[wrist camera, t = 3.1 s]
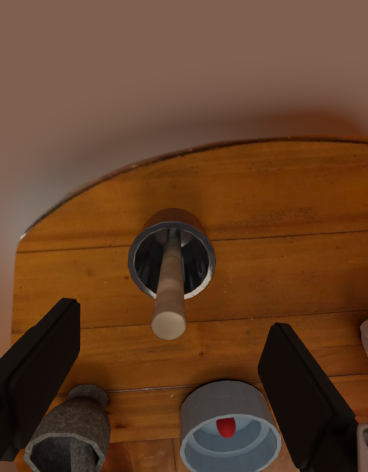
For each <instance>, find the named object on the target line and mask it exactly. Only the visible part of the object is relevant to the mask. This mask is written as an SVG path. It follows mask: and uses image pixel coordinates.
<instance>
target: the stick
mask: <svg viewBox="0 0 368 472" xmlns="http://www.w3.org/2000/svg"><path fill="white" fill-rule="evenodd" d="M151 328H152V331H153V333H154V334H155V335H156V336H157V337H159V338H161V339H165V340H172V339H175V338H178V337H179V336H181V335H182V334H183V332H184V330H185V328H186V318H185V301H184V284H183V267H182V249H181V238H180V237H179V236H178V235H177V234H170V235H168V236H167V238H166V241H165V247H164V253H163V259H162V264H161V270H160V276H159V281H158V287H157V293H156V299H155V304H154V310H153V316H152V321H151Z"/></svg>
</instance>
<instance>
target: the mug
mask: <svg viewBox="0 0 368 472" xmlns="http://www.w3.org/2000/svg"><path fill="white" fill-rule="evenodd" d="M360 330H361V332H362V334H361V339H362V344H363V347H364V349H365V352H366V354H367V356H368V320H366V321H365V322H363V323H362V324H361V326H360Z"/></svg>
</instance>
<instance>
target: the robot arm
mask: <svg viewBox="0 0 368 472" xmlns="http://www.w3.org/2000/svg"><path fill="white" fill-rule="evenodd" d="M79 351H80V303H77V300H76V299H70V298H62V299H61V300H60V301H59V302H58V303H57V304H56V305H55V306H54V307H53V308H52V309H51V310H50V311H49V312H48V313H47V314H46V315H45V316H44V317H43V318H42V319H41V320H40V321H39V322H38V323H37V325H36V326H33V327H31V328H30V329H29V330H28V331H27V332H26V333H25V334H24V335H23V336H22V337H21V338H20V339H19V340H18V341H17V342H16V343H15V344H14V345H13V346H12V347H11V348H10V349H9V350H8V351H7V352H6V353H5V354H4V355H3V357H1V358H0V461H9V462H13V461H14V459H15V457H16V455H17V454H18V452H19V450H20V449H24V448H25V447H26V446H27V445H28V443H29V442H30V440H31V438H32V436H33V435H34V433H35V431H36V429H37V427H38V426H39V424H40V422H41V420H42V419H43V417H44V415H45V413H46V412H47V410H48V408H49V406H50V404H51V403H52V401H53V399H54V397H55V396H56V394H57V392H58V390H59V388H60V387H61V385H62V383H63V381H64V380H65V378H66V376H67V374H68V373H69V371H70V369H71V367H72V365H73V364H74V362H75V360H76V358H77V357H78V354H79ZM258 374H259V377H260V379H261V382H262V384H263V387H264V390H265V392H266V395H267V397H268V400H269V402H270V405H271V407H272V410H273V412H274V415H275V418H276V420H277V423H278V425H279V428H280V430H281V433H282V435H283V438H284V441H285V443H286V446H287V448H288V451H289V453H290V456H291V458H292V461H293V463H294V465H295V466H296V468H298V469H299V470H300V472H368V423H361V424H358V422H357V421H356V420H355V416H356V415H355V414H354V412H353V411H352V410H351V408H350V407H349V406H348V404H347V403H346V401H345V400H344V399H343V397H342V396H341V395H340V393H339V392H338V390H337V389H336V388H335V386H334V385H333V384H332V382H331V381H330V379H329V378H328V377H327V375H326V374H325V373H324V371H323V370H322V369H321V367H320V366H319V364H318V363H317V362H316V360H315V359H314V358H313V356H312V355H311V353H310V352H309V351H308V349H307V348H306V347H305V345H304V344H303V342H302V341H301V340H300V338H299V337H298V336H297V334H296V333H295V331H294V330H293V329H292V327H291V326H290V325H289V324H286V323H275V324H274V325H272V326H271V328H270V331H269V334H268V337H267V340H266V343H265V346H264V349H263V352H262V355H261V358H260V361H259V364H258Z"/></svg>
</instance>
